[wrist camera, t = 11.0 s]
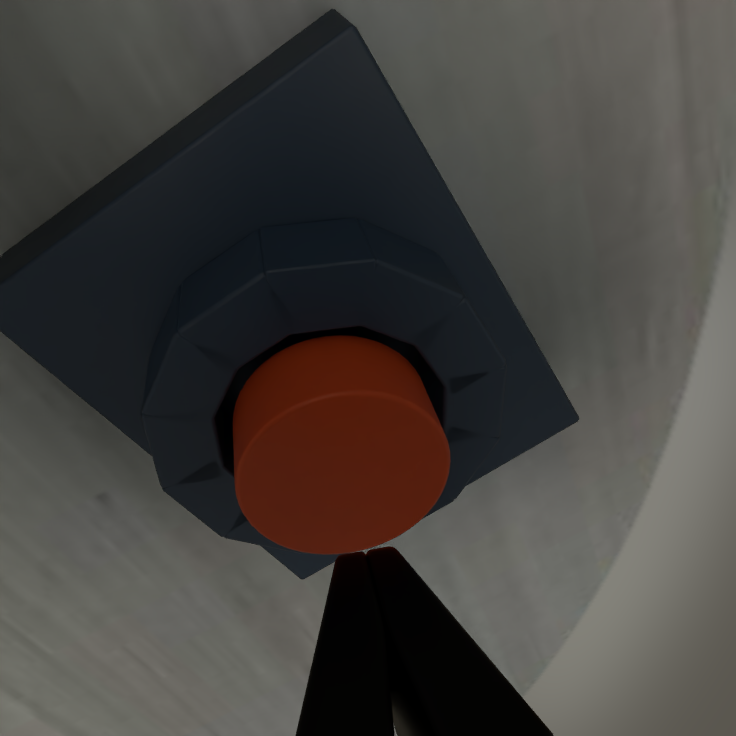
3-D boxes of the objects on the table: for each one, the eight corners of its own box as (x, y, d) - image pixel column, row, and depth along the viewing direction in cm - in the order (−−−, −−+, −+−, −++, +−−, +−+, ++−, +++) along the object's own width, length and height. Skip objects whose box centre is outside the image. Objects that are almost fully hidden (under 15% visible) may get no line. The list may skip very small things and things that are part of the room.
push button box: (544, 368, 18) (618, 472, 14) (294, 518, 19) (309, 644, 16) (333, 6, 12) (377, 41, 9) (1, 254, 13) (-69, 364, 10)
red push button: (457, 425, 13) (487, 487, 12) (307, 515, 14) (317, 584, 12) (361, 295, 11) (381, 350, 10) (190, 407, 12) (186, 475, 10)
